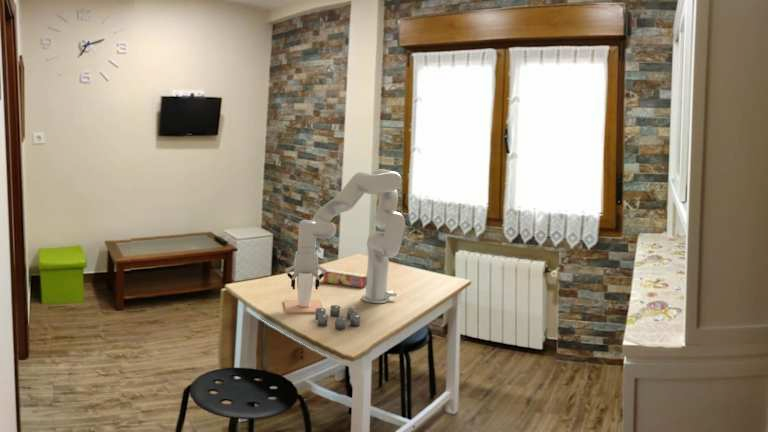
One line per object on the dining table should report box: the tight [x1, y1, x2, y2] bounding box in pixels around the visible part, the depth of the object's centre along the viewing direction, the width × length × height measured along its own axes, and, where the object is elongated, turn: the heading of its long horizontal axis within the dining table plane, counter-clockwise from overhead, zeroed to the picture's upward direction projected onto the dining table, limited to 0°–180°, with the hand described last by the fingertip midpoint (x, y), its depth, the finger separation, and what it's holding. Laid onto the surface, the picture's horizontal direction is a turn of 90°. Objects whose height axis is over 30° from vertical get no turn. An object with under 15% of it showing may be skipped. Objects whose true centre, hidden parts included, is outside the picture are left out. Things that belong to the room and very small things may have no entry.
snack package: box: [322, 268, 367, 289], centre depth 298 cm, size 21×7×7 cm, turn 77°
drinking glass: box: [296, 273, 314, 307], centre depth 257 cm, size 7×7×15 cm
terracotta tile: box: [283, 299, 324, 315], centre depth 258 cm, size 16×16×1 cm
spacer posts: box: [314, 304, 361, 331], centre depth 243 cm, size 17×19×4 cm
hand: (305, 288), depth 257 cm, fingers open, 9 cm apart
